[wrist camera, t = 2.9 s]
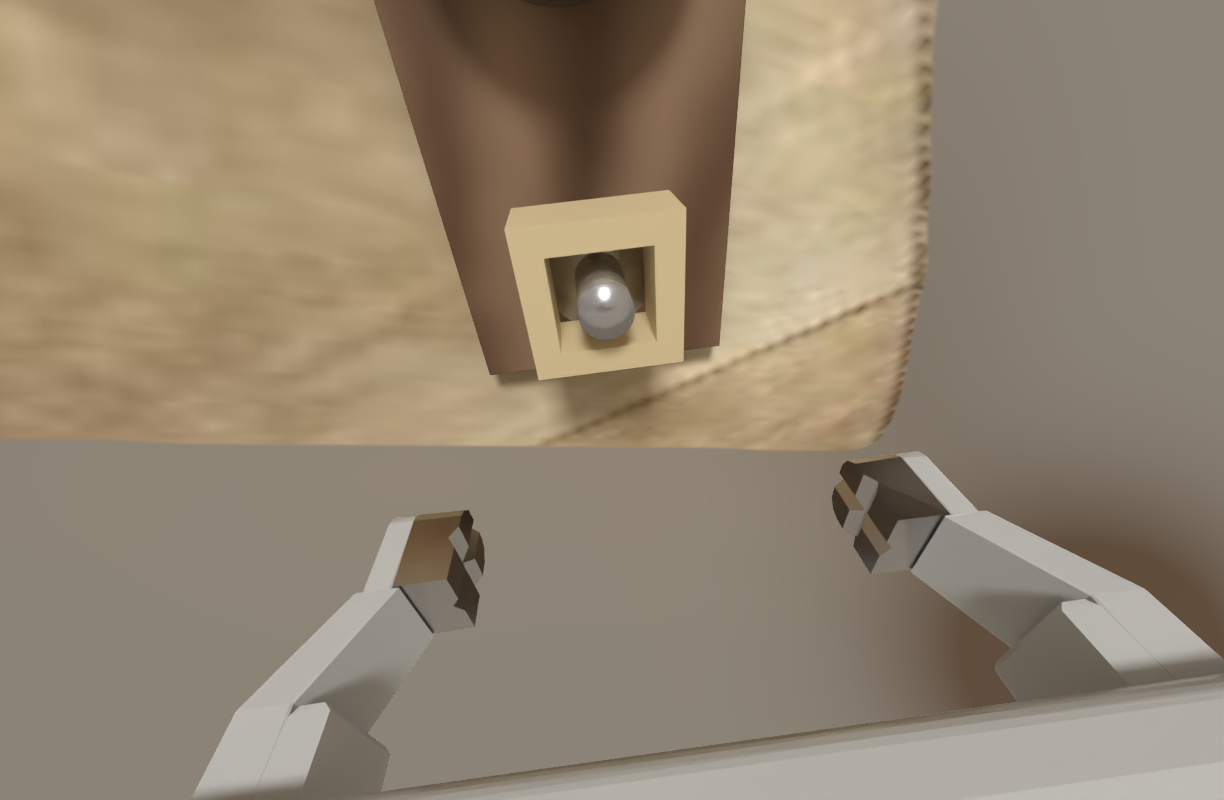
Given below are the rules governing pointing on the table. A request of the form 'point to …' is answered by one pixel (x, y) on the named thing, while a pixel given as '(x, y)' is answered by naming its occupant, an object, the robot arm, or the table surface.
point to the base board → (570, 130)
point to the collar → (593, 230)
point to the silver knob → (600, 289)
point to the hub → (556, 2)
